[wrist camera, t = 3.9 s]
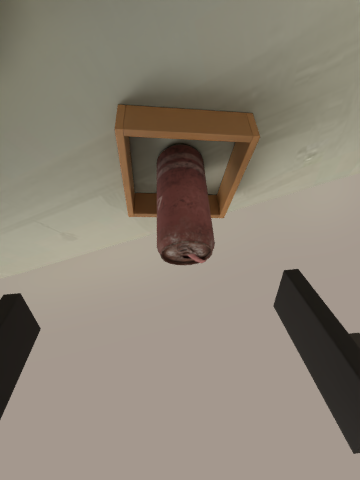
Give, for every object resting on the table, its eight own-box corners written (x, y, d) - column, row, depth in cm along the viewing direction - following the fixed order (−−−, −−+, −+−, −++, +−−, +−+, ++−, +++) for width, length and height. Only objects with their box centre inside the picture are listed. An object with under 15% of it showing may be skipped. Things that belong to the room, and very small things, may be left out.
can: (186, 183, 35) (194, 271, 29) (148, 167, 32) (147, 261, 25) (213, 156, 31) (230, 251, 24) (172, 133, 28) (178, 236, 21)
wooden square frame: (129, 195, 37) (128, 216, 35) (117, 104, 25) (114, 128, 23) (220, 198, 39) (223, 218, 37) (252, 112, 26) (260, 136, 24)
